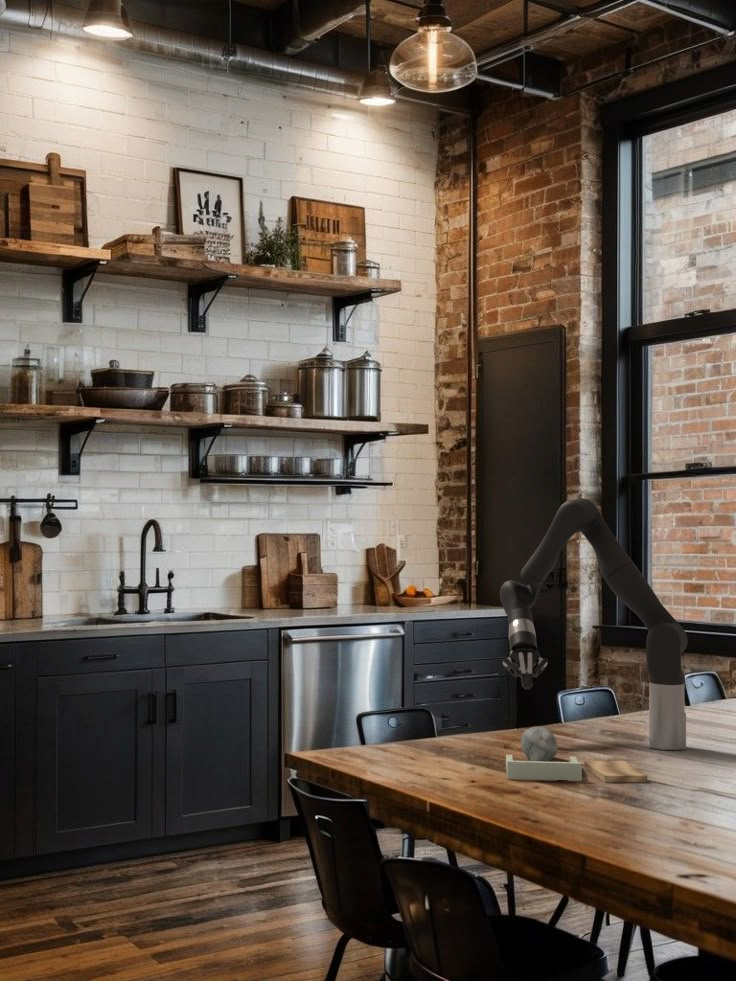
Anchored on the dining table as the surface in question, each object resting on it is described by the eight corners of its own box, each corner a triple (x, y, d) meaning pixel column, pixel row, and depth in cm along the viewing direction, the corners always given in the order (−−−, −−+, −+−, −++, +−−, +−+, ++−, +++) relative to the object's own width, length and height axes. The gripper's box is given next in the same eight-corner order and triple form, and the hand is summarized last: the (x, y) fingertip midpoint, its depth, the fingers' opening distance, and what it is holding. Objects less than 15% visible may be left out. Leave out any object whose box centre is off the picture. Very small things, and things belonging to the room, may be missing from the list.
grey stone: (516, 741, 312) (533, 709, 310) (549, 758, 311) (567, 727, 308) (509, 763, 300) (527, 730, 297) (543, 781, 298) (562, 749, 295)
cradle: (575, 766, 295) (575, 750, 296) (581, 781, 278) (581, 763, 278) (505, 764, 297) (505, 748, 297) (507, 779, 280) (507, 761, 280)
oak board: (624, 767, 296) (624, 760, 296) (647, 782, 278) (647, 775, 278) (584, 767, 295) (584, 761, 295) (604, 782, 277) (604, 775, 277)
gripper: (500, 629, 339) (504, 678, 326) (547, 630, 339) (553, 679, 326) (498, 646, 344) (502, 695, 331) (544, 647, 344) (550, 696, 331)
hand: (527, 687), depth 328 cm, fingers closed
